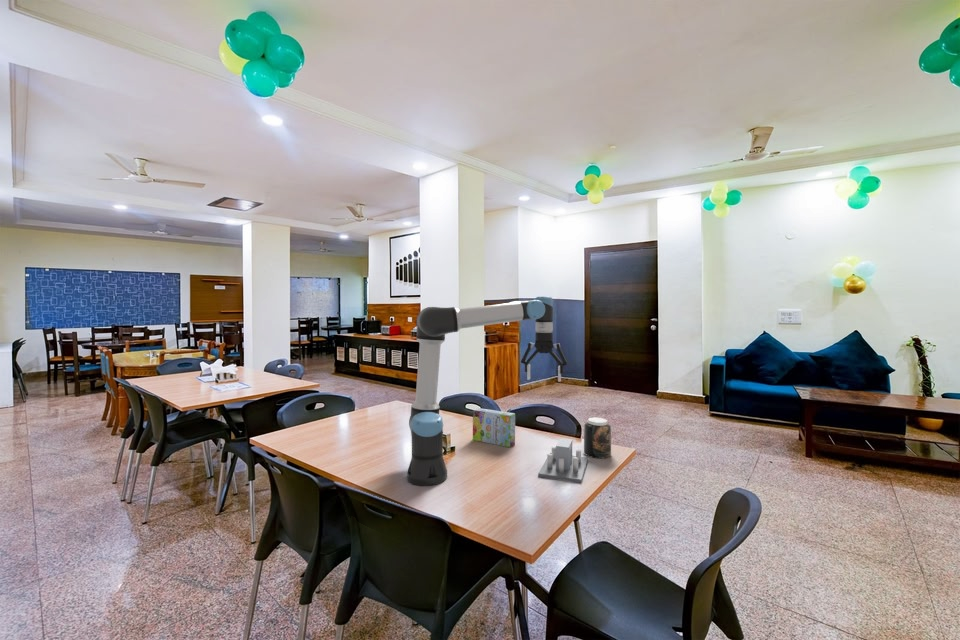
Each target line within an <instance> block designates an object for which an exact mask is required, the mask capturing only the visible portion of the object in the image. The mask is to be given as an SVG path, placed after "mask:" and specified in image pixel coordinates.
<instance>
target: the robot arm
mask: <svg viewBox="0 0 960 640" xmlns="http://www.w3.org/2000/svg"><path fill="white" fill-rule="evenodd" d="M553 301H554V300H553V298H552V297H551V296H536V297H535V299H532V300H531V299H530V300H511V301H510V302H506V303H499V304H498V303H497V304H491V305H490V304H489V305H483V306H482V305H481V306H474V307H465V308H457V307H455V306H453V307H452V306H451V307H438V306H428V307H425V308H423V309H422V310H421V311H419V313H418V314H417V317H416V340H417V342H418V343H419V347H418V348H419V349H418V350H419V351H418V359H417V360H418V362H417V363H418V364H417V374H416V375H417V376H416V377H417V378H416V390H415V399H414V400H415V401H414V402H413V403H412V404H411V406H410V416H409V419H408V425H409V429H410V436H411V459H410V463H409V464H408V465H409V466H408V469H407V471H406V480H407V482H409V483H410V484H412V485H416V486H422V487H423V486H425V487H426V486H434V485H438V484H441V483H444V481H446V480H447V479H448V469H447V466H446V463H445V460H444V457H443V456H444V455H443V453H444V452H443V451H444V450H443V448H444V445H443V441H444V440H443V439H444V438H443V435H444V434H443V433H444V432H443V431H444V423H443V417H442V416H441V414H440V405H439V403H438V402H437V396H438V387H439V385H438V384H439V370H440V359H441V346H442V344H443V343H444V342H445V341H446V340H445V339H446V335H448V334H451V333H452V334H453V333H457V332H459V331H461V329H467V328H468V329H469V328H475V327H481V326H482V327H483V326H491V325H497V324H504V323H505V324H506V323H510V322H511V323H512V322H518V321H527V320H534V321H535V322H534V323H535V336H534V338H535V342H531V341H530V342H528V344H527V348H526V350H525V353H524V354H523V355H522V358H521V361H520V363H521V364H523V365H524V372H526V374H527V376H526V379H527V381H530V380H531V364H530V362H531V361H533V359H534V358H535V357H536V356H537V355H538V354H550V356H551V357H552V358H553V359H554V360H555V361H556V363H557V364H558V366H557V373H558V374H557V382H559V383H560V382H561V381H562V375H563V374H564V367H565V366H567V365H568V364H569V362H568V361H567V358H566V356H565V354H564V352H563V350H562V347H561V344H560V342H559V343H554V339H553V338H554V335H553V331H554V319H553V318H554V302H553ZM532 348H535V350H534V351H533V353H532V354H531V355H530V353H531V350H532ZM553 348H555V349H557V350H556V351H557V352H558V355H559V357H560V358H561V359H560V358H559V357H558V355H557V354H556V353H555V352H554V350H553ZM529 355H530V357H529ZM528 357H529V358H528ZM527 358H528V359H527Z"/></svg>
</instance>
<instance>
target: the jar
mask: <svg viewBox="0 0 960 640" xmlns="http://www.w3.org/2000/svg"><path fill="white" fill-rule="evenodd" d="M583 428H584V429H583V453H584V454H585V455H586V454H587V456H588V455H589V456H588V457H590V456H592V457H591V458H595V457H597V458H596V459H607V457H608V458H610V457H611V455H612V428H611V425H610V424H608V420H607V419H606V418H603V417H596V416H595V417H589V418H588V419H587V422H585V423H584V427H583Z"/></svg>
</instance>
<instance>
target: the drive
mask: <svg viewBox="0 0 960 640" xmlns="http://www.w3.org/2000/svg"><path fill="white" fill-rule="evenodd" d="M555 447H556V469H559V458H563V459H564V470H569V469H570V466H571V464H572V456H573V439H569V438H559V440H558V442H557V443H556V446H555Z"/></svg>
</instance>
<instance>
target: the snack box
mask: <svg viewBox="0 0 960 640" xmlns="http://www.w3.org/2000/svg"><path fill="white" fill-rule="evenodd" d="M472 440H473V441H478V442H481V443H487V444H492V445H496V446H497V445H498V446H501V447H502V446H503V447H506V448H511V447H513V446H515V444H516V413H514V412H508V411H507V412H506V411H502V410H494V409H489V408H488V409H486V408H480V407H478V408H475V409H473V410H472Z"/></svg>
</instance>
